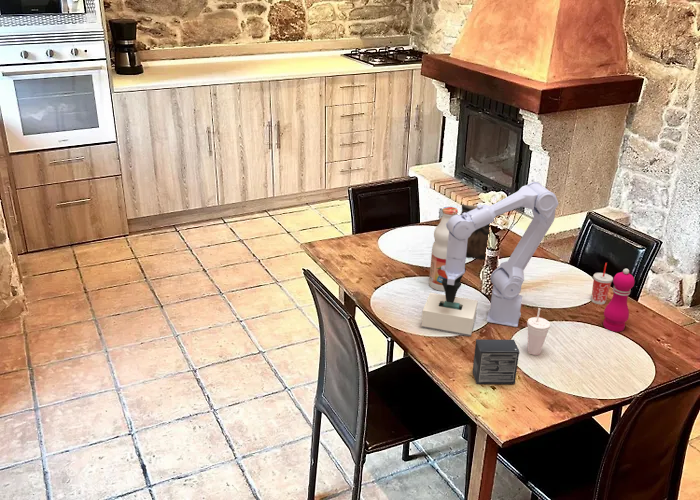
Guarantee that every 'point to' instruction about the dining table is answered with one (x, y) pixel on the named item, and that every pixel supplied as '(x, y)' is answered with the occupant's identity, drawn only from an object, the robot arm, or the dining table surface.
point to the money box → (449, 315)
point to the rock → (476, 238)
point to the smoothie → (537, 333)
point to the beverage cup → (601, 287)
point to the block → (451, 305)
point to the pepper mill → (619, 302)
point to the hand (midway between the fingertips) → (451, 295)
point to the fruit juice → (440, 250)
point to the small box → (495, 361)
